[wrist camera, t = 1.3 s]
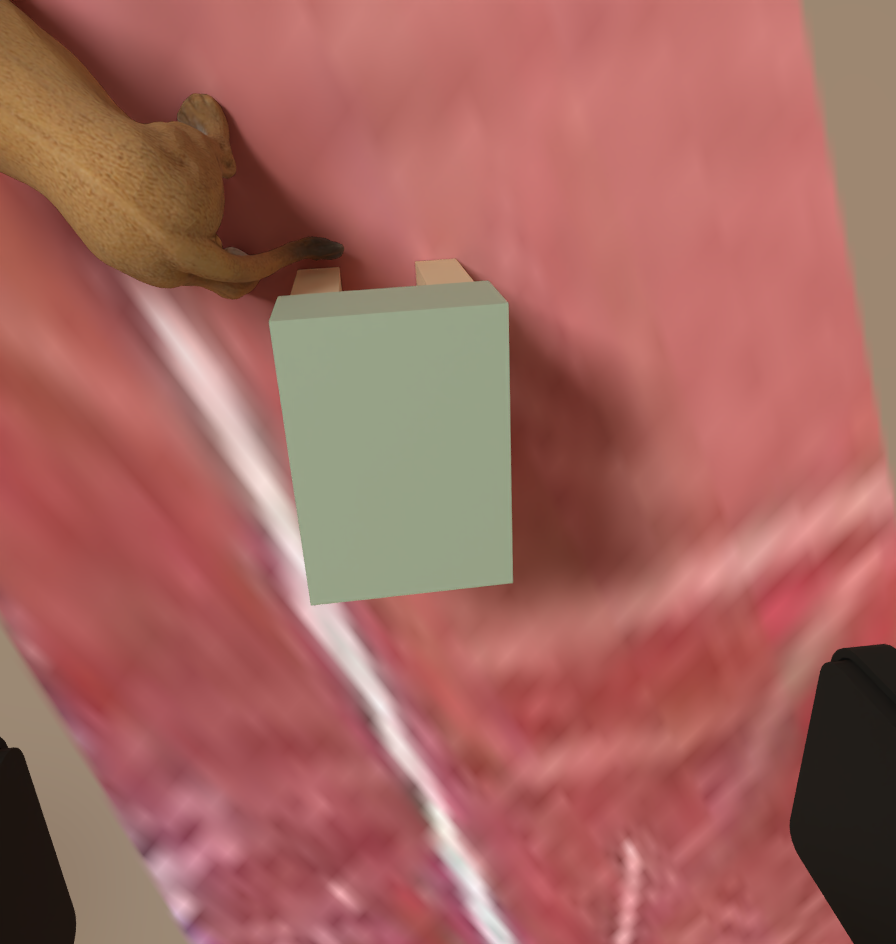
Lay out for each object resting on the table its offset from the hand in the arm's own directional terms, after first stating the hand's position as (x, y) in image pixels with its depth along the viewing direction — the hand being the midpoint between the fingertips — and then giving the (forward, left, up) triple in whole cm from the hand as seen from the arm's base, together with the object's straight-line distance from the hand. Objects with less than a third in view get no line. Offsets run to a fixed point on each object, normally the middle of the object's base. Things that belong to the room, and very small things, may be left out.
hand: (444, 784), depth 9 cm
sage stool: (0, 0, -16) cm, 16 cm away
